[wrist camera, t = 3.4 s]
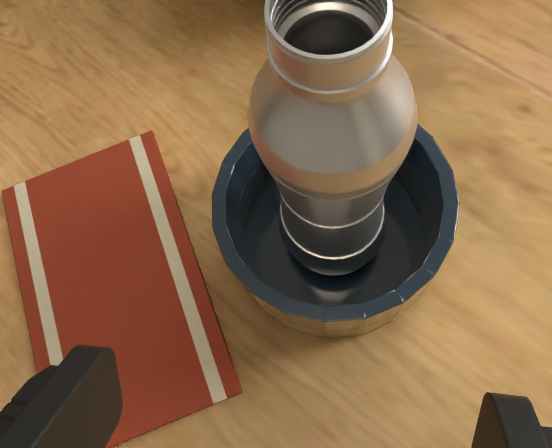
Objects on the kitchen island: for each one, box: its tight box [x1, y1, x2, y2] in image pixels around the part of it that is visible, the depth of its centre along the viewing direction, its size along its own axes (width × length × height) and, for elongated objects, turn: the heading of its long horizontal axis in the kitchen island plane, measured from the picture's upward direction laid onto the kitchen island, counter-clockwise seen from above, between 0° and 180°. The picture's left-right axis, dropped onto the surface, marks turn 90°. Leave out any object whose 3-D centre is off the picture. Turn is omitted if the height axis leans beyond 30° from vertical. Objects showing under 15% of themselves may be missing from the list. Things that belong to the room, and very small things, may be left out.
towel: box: [2, 130, 242, 448], centre depth 33 cm, size 20×12×1 cm, turn 21°
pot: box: [212, 123, 459, 337], centre depth 30 cm, size 13×13×6 cm
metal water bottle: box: [248, 0, 418, 276], centre depth 23 cm, size 6×7×20 cm
